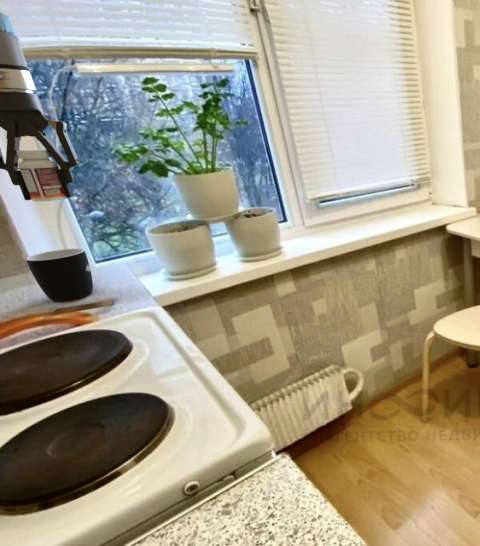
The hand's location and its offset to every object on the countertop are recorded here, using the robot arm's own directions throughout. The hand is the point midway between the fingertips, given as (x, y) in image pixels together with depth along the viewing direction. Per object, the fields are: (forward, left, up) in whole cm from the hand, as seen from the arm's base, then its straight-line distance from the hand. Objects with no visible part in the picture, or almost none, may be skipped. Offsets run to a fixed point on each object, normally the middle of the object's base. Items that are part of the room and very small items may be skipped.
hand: (50, 197), depth 99 cm
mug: (+2, -13, -21) cm, 25 cm away
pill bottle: (0, 0, -1) cm, 1 cm away
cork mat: (+7, -28, -21) cm, 35 cm away
